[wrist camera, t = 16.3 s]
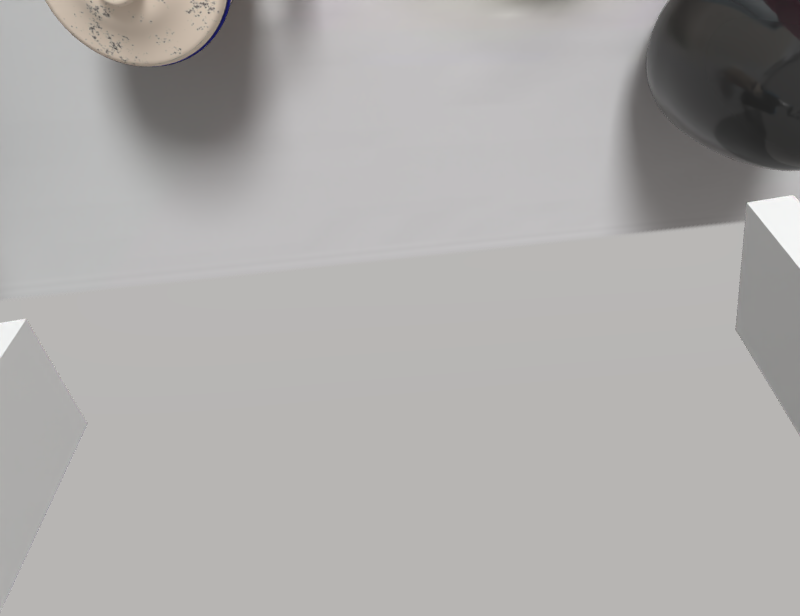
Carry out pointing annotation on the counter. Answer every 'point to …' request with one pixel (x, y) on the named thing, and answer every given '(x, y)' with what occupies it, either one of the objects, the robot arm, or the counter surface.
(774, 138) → the black rounded piece
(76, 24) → the teacup with lid
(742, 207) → the counter surface
